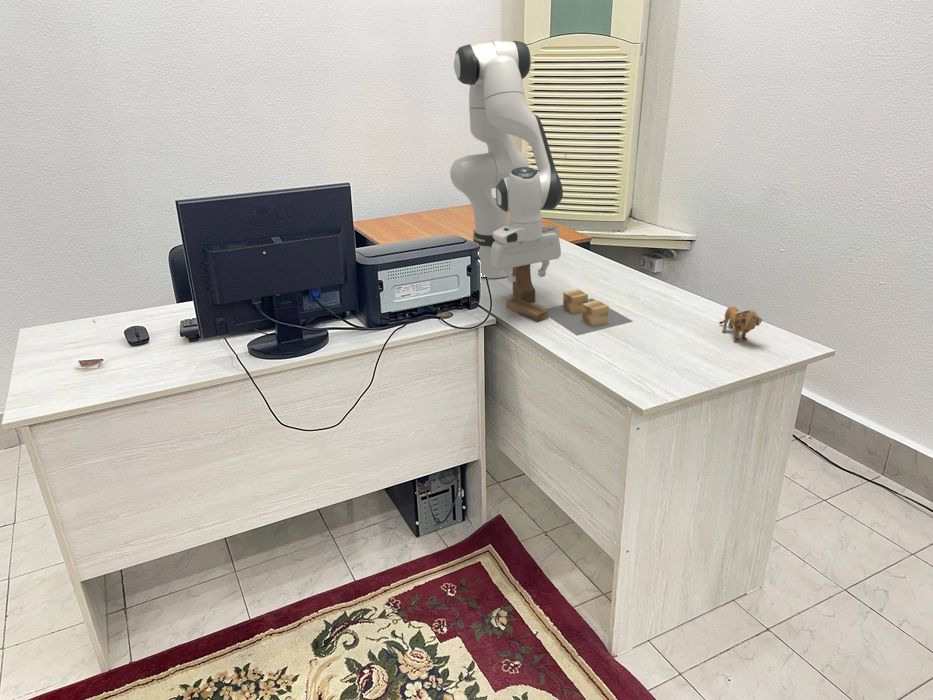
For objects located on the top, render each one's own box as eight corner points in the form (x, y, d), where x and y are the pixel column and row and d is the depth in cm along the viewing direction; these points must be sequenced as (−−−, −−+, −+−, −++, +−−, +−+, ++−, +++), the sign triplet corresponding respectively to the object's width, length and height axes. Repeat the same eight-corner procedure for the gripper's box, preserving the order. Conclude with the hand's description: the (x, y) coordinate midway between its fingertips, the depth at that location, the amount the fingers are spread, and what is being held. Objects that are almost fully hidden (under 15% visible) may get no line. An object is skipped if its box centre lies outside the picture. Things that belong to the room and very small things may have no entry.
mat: (539, 311, 195) (539, 310, 195) (592, 299, 201) (592, 298, 201) (576, 336, 179) (576, 335, 178) (633, 322, 185) (633, 321, 185)
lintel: (537, 324, 188) (537, 314, 186) (506, 310, 198) (505, 301, 197) (548, 321, 190) (548, 311, 188) (516, 307, 200) (516, 297, 199)
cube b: (582, 320, 187) (582, 303, 185) (597, 316, 189) (598, 300, 186) (592, 326, 183) (592, 309, 181) (607, 323, 184) (608, 306, 182)
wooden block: (535, 303, 201) (535, 244, 193) (521, 305, 200) (519, 246, 193) (526, 293, 209) (525, 236, 201) (512, 294, 208) (511, 237, 201)
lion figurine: (761, 345, 168) (766, 312, 165) (742, 348, 167) (747, 315, 164) (727, 323, 181) (731, 291, 177) (709, 326, 180) (713, 294, 176)
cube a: (563, 308, 195) (563, 292, 193) (578, 305, 197) (578, 289, 195) (572, 314, 191) (572, 297, 189) (587, 310, 193) (588, 294, 191)
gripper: (553, 222, 189) (553, 269, 195) (487, 233, 182) (489, 282, 188) (565, 226, 184) (565, 275, 190) (497, 238, 177) (499, 289, 183)
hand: (527, 279), depth 189 cm, fingers open, 8 cm apart
